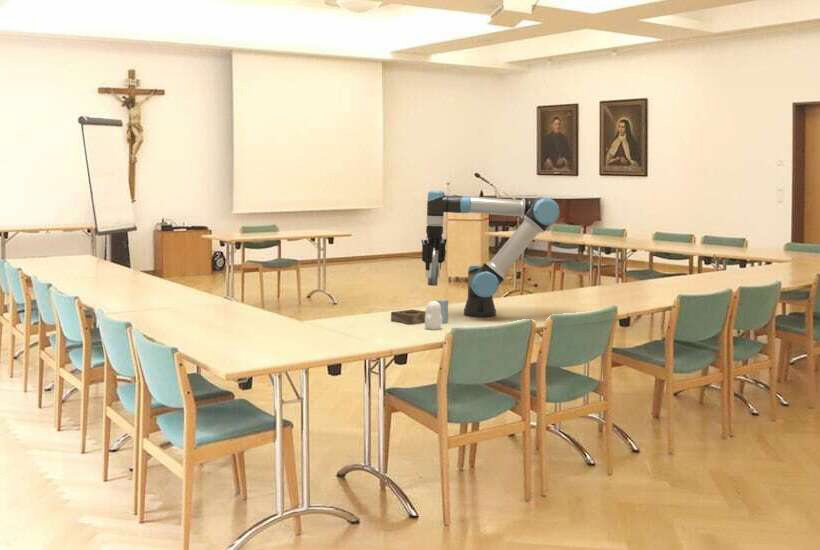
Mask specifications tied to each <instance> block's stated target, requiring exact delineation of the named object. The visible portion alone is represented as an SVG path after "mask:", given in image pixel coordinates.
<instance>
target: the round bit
mask: <svg viewBox="0 0 820 550" xmlns="http://www.w3.org/2000/svg"><path fill="white" fill-rule="evenodd" d="M438 257H439V250H435V248H433V252H432V257H431V262H430V263H432V272H431V278H429V277H427V285H428V286H433V287H435V286H438V280H439V279H438V278H439V277H438Z"/></svg>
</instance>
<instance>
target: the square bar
mask: <svg viewBox="0 0 820 550" xmlns="http://www.w3.org/2000/svg"><path fill="white" fill-rule="evenodd" d="M435 301H437V302H438V303H439V304H440V306H441V315H442V324H443V325H445V324H447V323H448V322H449V300H448V299H437V300H435ZM442 324H441V325H442Z"/></svg>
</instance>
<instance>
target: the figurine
mask: <svg viewBox="0 0 820 550" xmlns="http://www.w3.org/2000/svg"><path fill="white" fill-rule="evenodd" d="M425 312H426V314H425V323H424V328H425V329H426V330H434V331H435V330H440V328H441V326H442V315H441V306H440V304H439V303H438V302H437V301H436V300H431V301H429V302H428V303H427V304H426V308H425Z"/></svg>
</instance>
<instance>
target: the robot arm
mask: <svg viewBox="0 0 820 550" xmlns="http://www.w3.org/2000/svg"><path fill="white" fill-rule="evenodd" d="M426 202H427V203H426V204H427V205H426V213H427V214H426V229H425V232H426V233H425V234H427V235H426V238H424V239H421V244H422V246H421V247H422V250H421V261H422V262H423V263H424V264H425V268H424V269H425V277H426V278H428V277H429V278H431V272H432V263H430V262H431V257H432V252H433V249H435V250H439V257H438V278H440V275H441V274H440V273H441V268H442V263H443V262H444V261H445V259H446V245H447V241H448V239H445V238H443V234H444V226H443V225H444V214H445V213H450V214H451V213H453V214H469V213H470V214H471V213H472V214H481V215H483V214H484V215H493V216H494V215H496V216H510V217H520V218H521V220H523V222H522V223H521V224H520V225H519V226H518V228H517V229H516V230H515V231H514V232H513V234H512V235H511V236H510V237H509V238H508V239H507V241H506V242H505V243H504V244H503V245H502V247H501V248H500V249H499V250H498V252H497V253H496V254H495V255H494V256H493V257H492V259H491V260H490V261H485V262H484V263H483V264H482V265H470V266H469V267H468V269H467V270H468V271H467V275H468V276H467V299H466V303H465V306H464V308H463V315H465V316H469V317H475V318H476V317H478V318H485V317H489V318H490V317H494V316H497V309H496V308H495V307H496V305H495V302H494V299H493V298H494V297H493V296H494V295H495V294H496V293H497V292H498V290H499V286H500V285H501V284H502V283H503V282H504V280H505V278H506V276H505V275H506V273H507V271H509V269H510V268H511V267H512V266H513V265H514V263H515V262H516V261H517V259H519V257H520V256H521V255H522V253H524V251H525V250H526V249H527V247H528V246H529V245H530V244H531V243H532V242H533V241H534V240H535V238H536V237H537V236H538V235H539V234H540V233H545V232H546V230H547V229H548V228H549V227H550V226H551V225H552V224H554V223H555V222H556V221H557V220H558V219H559V217H560V207H559V204H558V203H557V202H556V201H555V200H554V199H552V198H550V197H542V196H540V197H533V198H532V197H530V198H529V197H523V198H522V199H511V198H497V197H495V198H494V197H483V196H482V197H480V196H470V195H469V196H465V195H457V194H453V195H446V194H445V191H443V190H429V191H428V193H427V201H426Z"/></svg>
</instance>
